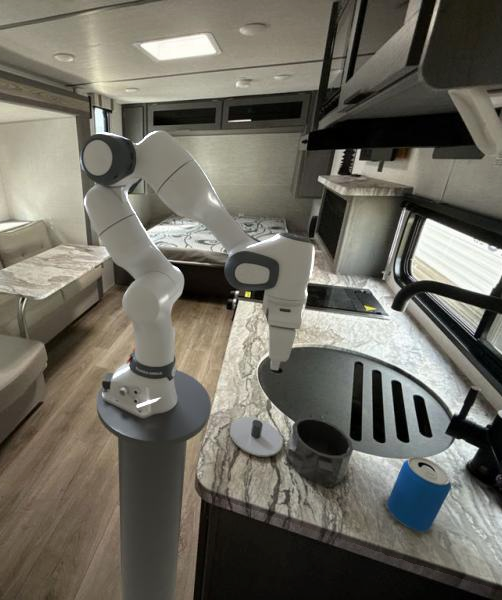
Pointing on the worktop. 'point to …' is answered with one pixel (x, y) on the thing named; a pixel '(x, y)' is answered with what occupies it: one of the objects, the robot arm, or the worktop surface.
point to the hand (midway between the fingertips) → (274, 358)
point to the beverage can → (419, 493)
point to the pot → (319, 450)
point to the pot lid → (256, 437)
